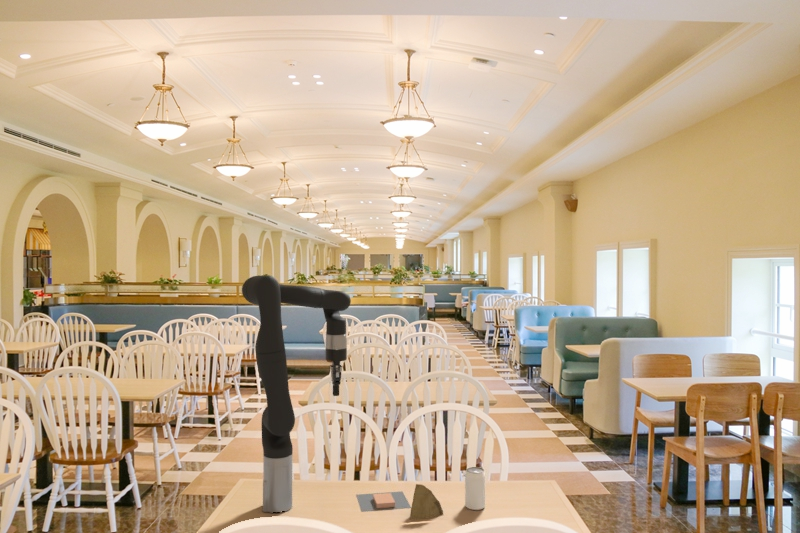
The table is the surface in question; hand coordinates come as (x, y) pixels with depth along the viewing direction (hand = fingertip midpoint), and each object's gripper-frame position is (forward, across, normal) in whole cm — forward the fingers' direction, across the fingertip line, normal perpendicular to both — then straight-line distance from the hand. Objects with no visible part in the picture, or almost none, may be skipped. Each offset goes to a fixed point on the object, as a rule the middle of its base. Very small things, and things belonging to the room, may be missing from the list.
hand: (335, 395), depth 209 cm
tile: (+30, +16, +14) cm, 37 cm away
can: (+32, +27, +43) cm, 60 cm away
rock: (+32, +32, +26) cm, 52 cm away
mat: (+32, +18, +14) cm, 40 cm away
